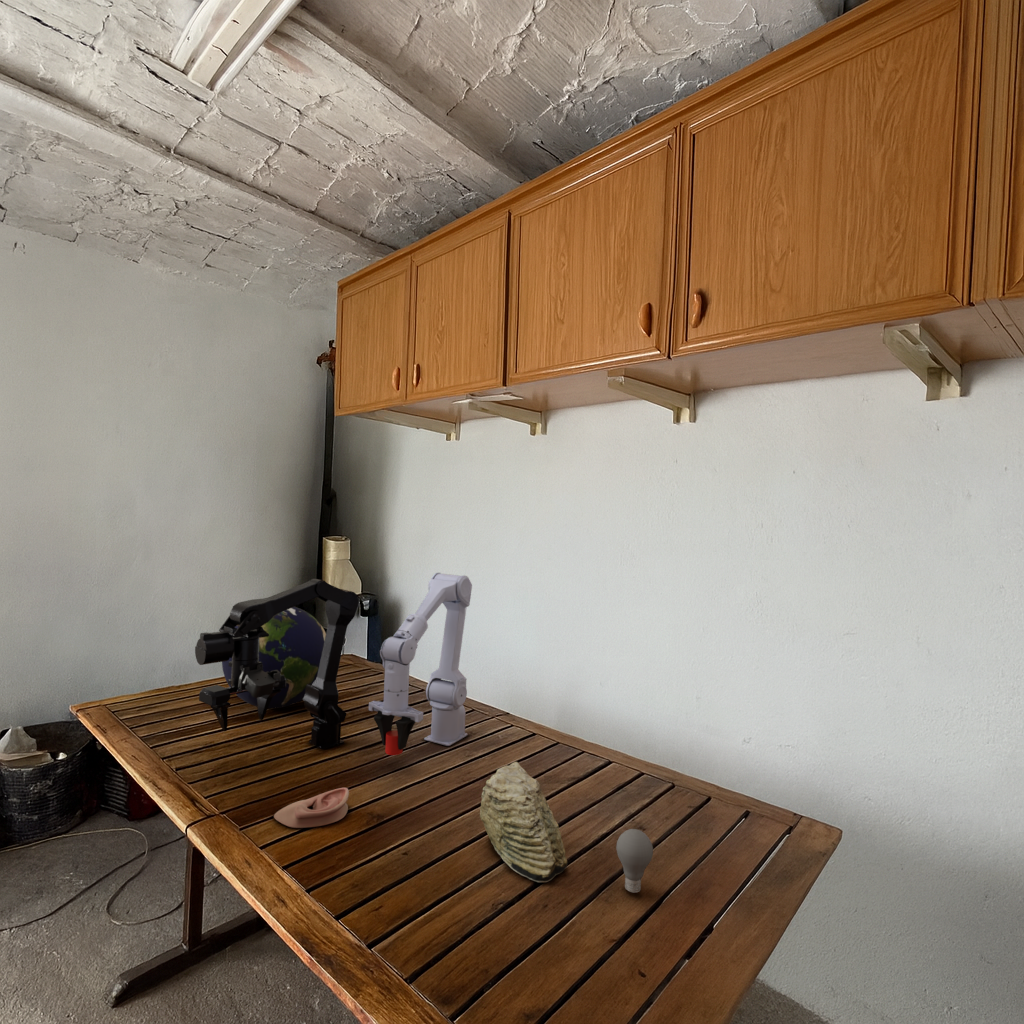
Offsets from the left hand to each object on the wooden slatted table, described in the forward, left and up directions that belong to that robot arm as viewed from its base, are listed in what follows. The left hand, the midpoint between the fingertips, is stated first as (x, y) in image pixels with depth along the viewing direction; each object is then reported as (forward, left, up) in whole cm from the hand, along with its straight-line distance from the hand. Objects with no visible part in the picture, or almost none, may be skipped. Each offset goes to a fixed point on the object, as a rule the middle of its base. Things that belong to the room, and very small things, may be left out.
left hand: (243, 725), depth 146 cm
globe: (-26, -34, -10) cm, 44 cm away
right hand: (-25, +23, -5) cm, 35 cm away
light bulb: (-25, +89, -10) cm, 93 cm away
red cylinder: (-25, +24, -6) cm, 35 cm away
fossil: (-19, +69, -10) cm, 72 cm away
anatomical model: (0, +30, -10) cm, 32 cm away
